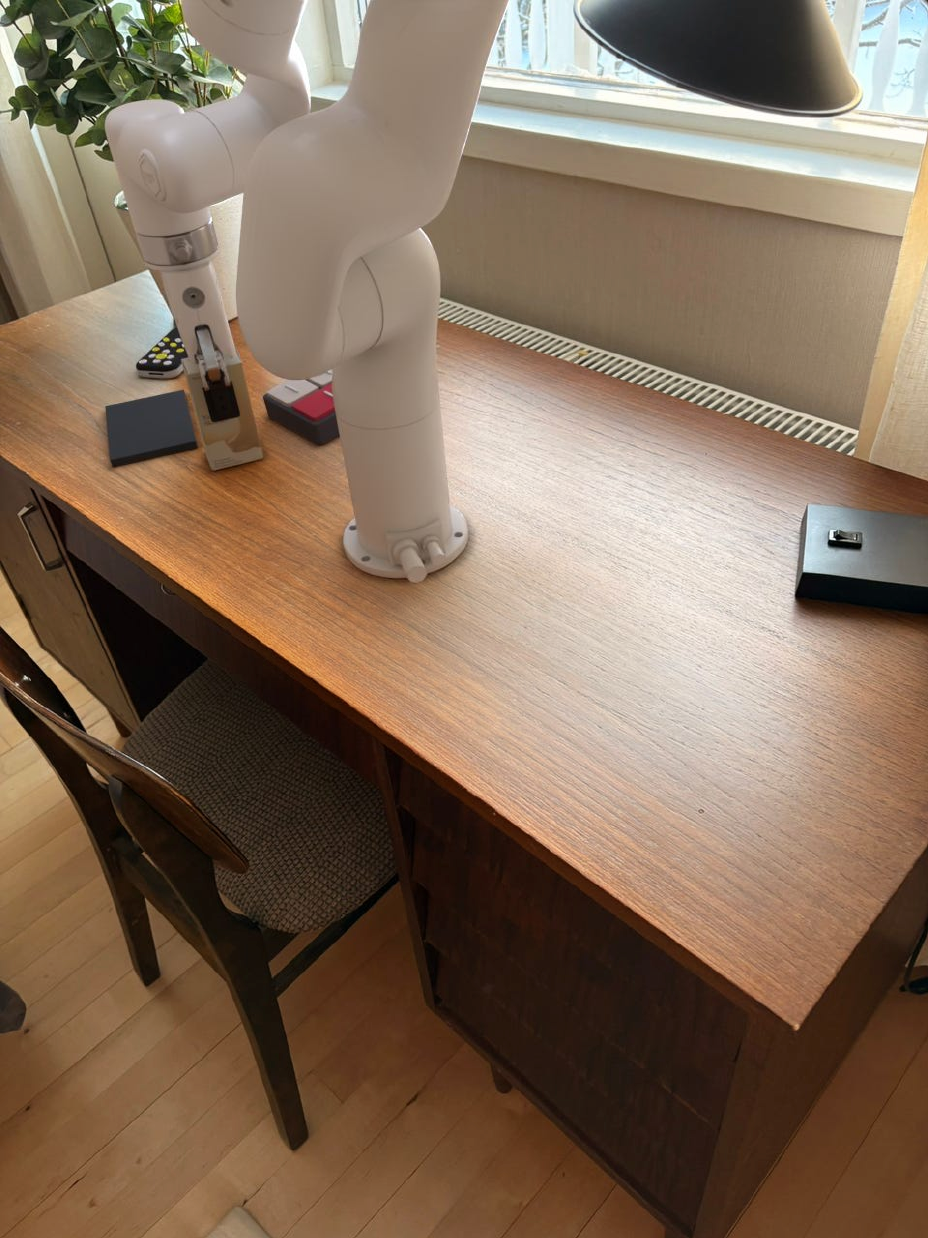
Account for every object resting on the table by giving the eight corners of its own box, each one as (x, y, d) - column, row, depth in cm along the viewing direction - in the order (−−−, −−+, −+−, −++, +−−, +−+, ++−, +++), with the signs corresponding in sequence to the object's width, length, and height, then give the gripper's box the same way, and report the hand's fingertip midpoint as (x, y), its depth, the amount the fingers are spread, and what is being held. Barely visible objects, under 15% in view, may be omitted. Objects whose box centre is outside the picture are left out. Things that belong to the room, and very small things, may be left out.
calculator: (259, 390, 114) (354, 340, 121) (267, 421, 117) (360, 370, 124) (313, 419, 108) (410, 365, 115) (321, 451, 111) (415, 396, 118)
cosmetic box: (212, 472, 108) (183, 375, 100) (205, 455, 111) (177, 358, 103) (266, 458, 109) (243, 360, 101) (258, 441, 113) (234, 345, 104)
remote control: (216, 338, 135) (213, 325, 134) (175, 380, 126) (171, 366, 125) (178, 336, 136) (174, 323, 135) (134, 378, 127) (130, 364, 126)
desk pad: (198, 447, 112) (195, 440, 112) (112, 467, 110) (110, 459, 110) (185, 395, 122) (183, 389, 122) (107, 412, 121) (105, 405, 120)
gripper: (227, 265, 88) (267, 431, 100) (205, 209, 101) (243, 362, 113) (146, 280, 87) (196, 447, 99) (134, 221, 99) (180, 376, 111)
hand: (221, 401), depth 105 cm, fingers open, 7 cm apart
